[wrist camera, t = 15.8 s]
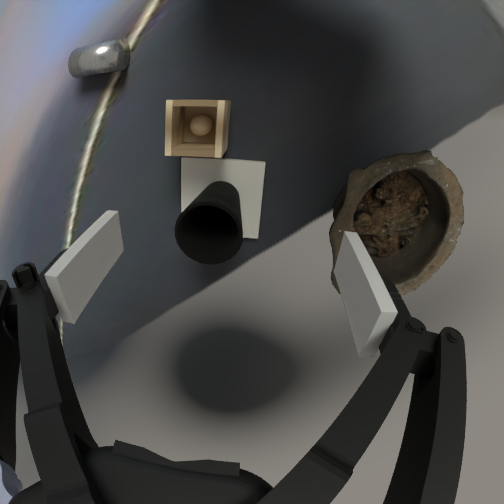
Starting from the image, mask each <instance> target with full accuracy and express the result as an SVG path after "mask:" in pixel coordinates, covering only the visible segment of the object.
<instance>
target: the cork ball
mask: <svg viewBox="0 0 504 504" xmlns="http://www.w3.org/2000/svg"><path fill="white" fill-rule="evenodd" d="M190 129H191V131H192V132H193V133H194V134H196V135H198V136H203V135H206V134H208V133H209V132H210V131H211V129H212V120H211V119H210V117H209V116H207V115H204V114H199V115H196V116H195V117H193V118H192V120H191V122H190Z"/></svg>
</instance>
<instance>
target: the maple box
mask: <svg viewBox="0 0 504 504" xmlns="http://www.w3.org/2000/svg"><path fill="white" fill-rule="evenodd" d="M230 106H231V101H227V100H166V120H165V156H194V157H216V158H221V157H222V156H223V154H224V153H225V152H226V150H227V149H228V134H229V120H230ZM199 114H204V115H207V116H209V117H210V119H211V120H212V129H211V131H210V132H209V133H208V134H206V135H203V136H198V135H196V134H194V133H193V132H192V131H191V129H190V122H191V120H192V118H193V117H195V116H196V115H199Z"/></svg>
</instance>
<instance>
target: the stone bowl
mask: <svg viewBox="0 0 504 504" xmlns="http://www.w3.org/2000/svg"><path fill="white" fill-rule="evenodd" d="M462 198H463V191H462V188H461V186H460V184H459V182H458V180H457V178H456V176H455V175H454V173H453V172H452V171H451V170H450V169H448V168H446V166H445V165H444V164H443V163H442V162H441V161H439V160H438V158H435V157H433V156H432V153H431V151H428V150H425V151H421V152H417V153H403V154H396V155H392V156H388V157H384V158H382V159H379V160H377V161H376V162H374V163H373V164H372V165H370V166H369V167H366V168H364V169H354V171H353V172H351V173H350V174H349V178H348V184H346V185H345V187H344V188H343V189H342V190H341V192H340V195H339V197H338V199H337V201H336V203H335V206H334V211H333V218H334V222H333V223H332V225H331V228H330V231H329V237H330V243H331V246H332V253H333V268H332V272H331V280H332V284H333V285H334V287H335V288H336V290H337V291H338V293H339V294H341V293H340V289H339V286H338V283H337V280H336V277H335V274H334V268H335V265H336V261H337V258H338V254H339V250H340V247H341V243H342V239H343V235H344V231H348V232H356V233H357V234H358V236H359V237H360V239H361V241H362V243H363V245H364V246H365V248H366V250H367V252H368V254H369V256H370V257H371V259H372V261H373V263H374V265H375V267H376V269H377V271H378V273H379V275H380V277H381V278H383V279H389V280H390V281H391V282H392V283H393V284H394V285H395V286H396V288H397V290H398V292H399V294H400V295H404V294H406V293H408V292H412V291H414V290H416V289H417V288H418V287H419V286H420V285H421V284H423V283H425V282H426V281H427V280H428V279H429V278H430V277H431V276H432V275H433V274H434V273H435V272H437V271H438V270H439V268H440V267H441V265H442V264H444V262H445V261H446V260H447V259H448V257H449V256H450V255H451V253H452V251H453V250H454V248H455V245H456V243H457V241H456V240H457V237H458V235H459V234H460V232H461V228H462V225H463V223H464V207H463V200H462Z"/></svg>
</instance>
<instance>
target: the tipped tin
mask: <svg viewBox="0 0 504 504" xmlns="http://www.w3.org/2000/svg"><path fill="white" fill-rule="evenodd" d="M129 59H130V47H129V44H128V42H127V40H126V39H124V38H121V39H116V40H111V41H106V42H101V43H97V44H92V45H88V46H84V47H80V48H77V49H74V50H73V51H72V53H71V54H70V57H69V61H68V67H69V72H70V74H71V75H72V76H73V77H74V78H80V77H85V76H90V75H95V74H101V73H107V72H113V71H120V70H124V69H125V68H126V67H127V65H128V63H129Z"/></svg>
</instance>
